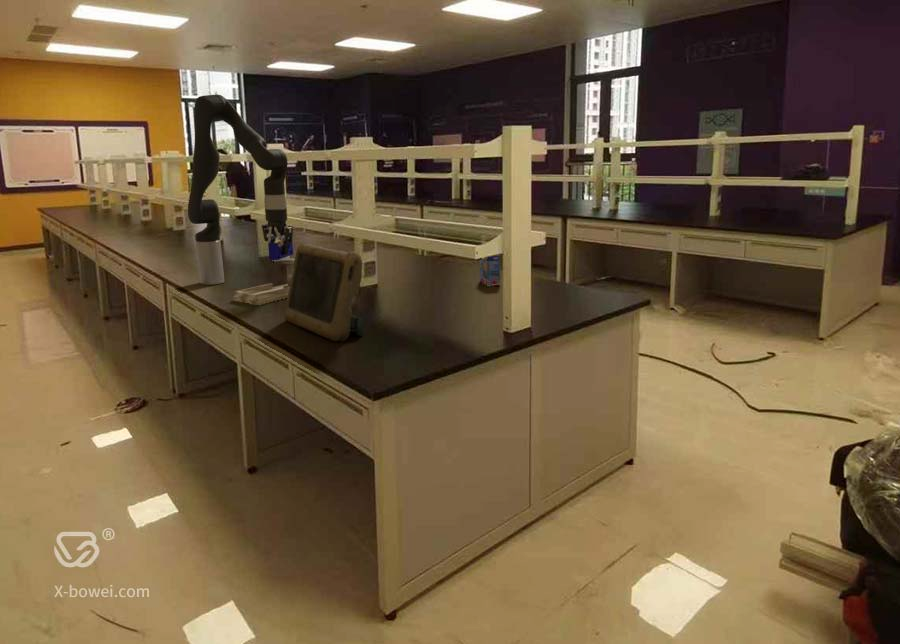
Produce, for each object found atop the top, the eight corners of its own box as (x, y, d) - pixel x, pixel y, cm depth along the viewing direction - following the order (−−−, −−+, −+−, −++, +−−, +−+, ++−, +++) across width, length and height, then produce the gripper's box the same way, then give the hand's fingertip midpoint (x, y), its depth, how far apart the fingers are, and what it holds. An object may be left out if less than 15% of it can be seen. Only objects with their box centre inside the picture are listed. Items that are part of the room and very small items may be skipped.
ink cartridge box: (478, 282, 260) (478, 246, 256) (491, 281, 261) (491, 245, 257) (487, 287, 251) (487, 249, 247) (500, 285, 252) (501, 249, 248)
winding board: (233, 300, 233) (229, 267, 229) (291, 286, 254) (288, 256, 250) (258, 305, 225) (255, 271, 222) (315, 291, 246) (313, 259, 243)
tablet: (275, 323, 203) (268, 244, 197) (313, 314, 213) (307, 239, 206) (336, 344, 181) (330, 256, 174) (374, 334, 191) (371, 250, 184)
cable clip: (282, 253, 241) (281, 237, 239) (293, 254, 240) (292, 238, 238) (265, 259, 230) (264, 242, 228) (277, 260, 229) (275, 243, 227)
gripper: (253, 206, 230) (257, 253, 235) (281, 209, 222) (284, 258, 227) (270, 205, 236) (273, 250, 241) (297, 207, 228) (300, 255, 233)
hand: (279, 254), depth 234 cm, fingers closed on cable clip, 5 cm apart
